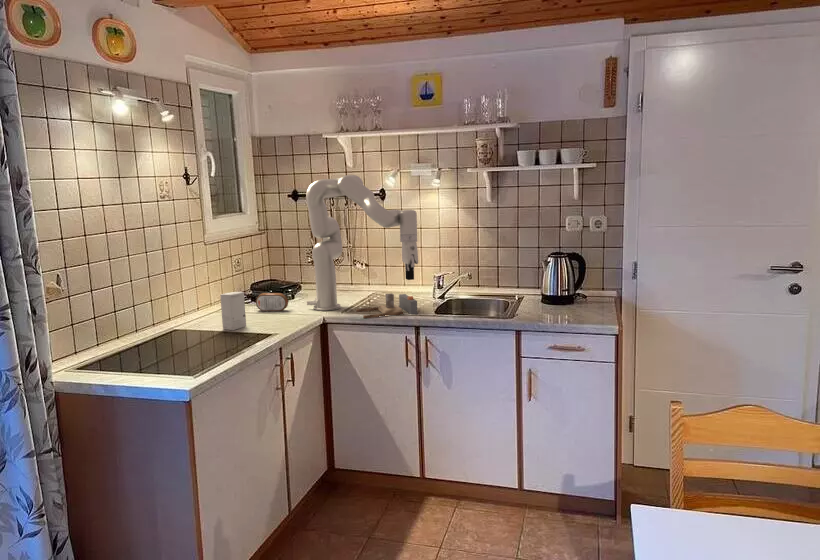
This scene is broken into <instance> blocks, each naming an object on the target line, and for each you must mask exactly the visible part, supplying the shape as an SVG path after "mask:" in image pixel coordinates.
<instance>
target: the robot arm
mask: <svg viewBox="0 0 820 560" xmlns="http://www.w3.org/2000/svg"><path fill="white" fill-rule="evenodd" d="M305 193H306V194H305V195H306V196H305V200H306V204H307V209H308V217H309V221H310V222H309V223H310V229H311V233H312V236H313V237H314V238H316V239H322V241H319V242H317V243H316V244H315V245H314V246H313V247H312V252H311V253H312V260H313V264H314V265H313V266H314V276H315V278H314V279H315V294H316V296H315V298H314V299H313V300H307V301H306V305H307V306H313V309H314V310H315V311H323V312H325V311H335V310H338V309H340V308H341V304H340V303H338V294H337V293H338V292H337V276H336V275H337V274H336V266H335V262H334V260H336V259H338V258H339V257H341V255H342V254H343V242H342V241H343V240H342V236H341V234H342V233H341V228H340V225H339V222H338V221H337V219H335V218H334V217H333V216H329V213H328V208H327V205H326V203H325V199H328V198H329V199H330V198H337V197H343V196H345V197H346V198H348V199H350V200H351V201H352V202H354V203H355V204H357V206H359V207H361V209H362V210H363V211H364V214H366V215H367V216H368V218H370V219H371V220H372V221H374V222H375V223H377V224H378V225H379V226H381V227H383V228H385V229H388V228H394V227H398V226H399V233H400V234H399V235H400V236H399V239H400V240H399V241H400V242H401V261H402V263H403V264H404V268H405V270H404V271H405V279H406V280H407V281H411V280H413V281H414V280H415V267H416V265H418V264H419V253H418V251H419V250H418V244H417V242H418V219H417V218H418V215H417V212H416V210H414V209H404V210H402V209H401V210H400V209H387V208H386V207H384V206H382V205H381V204H380V203H379V202H378V201H377V200H376V198H375V193H374V192H373V191H372V190H371V189H369V188H368V187H367V186H365V185H364V181H363V180H362V178H361V177H360V176H358V175H355V174H347V175H343V176H342V177H338V178H322V179H318V180H315V181H313V182H312V183H311V184H310V185H309V186H308V188H307V190H306V192H305Z"/></svg>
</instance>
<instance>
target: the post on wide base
mask: <svg viewBox="0 0 820 560" xmlns="http://www.w3.org/2000/svg"><path fill="white" fill-rule="evenodd" d="M377 307H378V309H379V310H378V311H380V312H381V314H383V313H394V312H403V309H402V308H400V307H399V305H397V304H395V295H394V293H385V304H384V305H378V306H377Z"/></svg>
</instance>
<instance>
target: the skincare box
mask: <svg viewBox="0 0 820 560" xmlns="http://www.w3.org/2000/svg"><path fill="white" fill-rule="evenodd" d="M219 295H220V305H221V306H220V307H221V308H220V309H221V310H220V311H221V322H222V329H223V330H227V331H235V330H239V329H241V328H245V327H247V318H246V317H247V315H246V305H245V304H246V303H245V302H246V301H245V292H244V291H243V292H242V291H231V292H225V293H221V294H219Z"/></svg>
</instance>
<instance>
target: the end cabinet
mask: <svg viewBox="0 0 820 560" xmlns="http://www.w3.org/2000/svg"><path fill="white" fill-rule="evenodd" d="M408 296H409V294H406V293H402V294H401V293H400V294H398V297H399V298H398V304H399V305H398V306H399V307H400V308H402V311H404V312H406V313H407V312H408V314H409V315H410V314H415V315H418V300H416V299H415V298H413V300H408Z"/></svg>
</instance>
